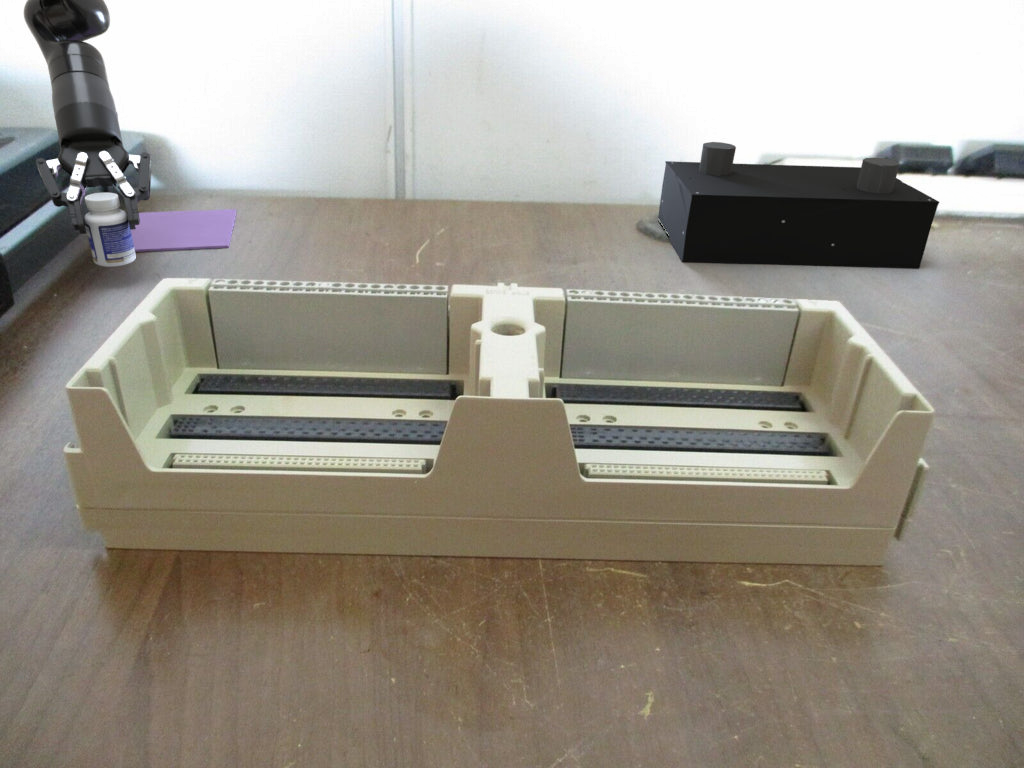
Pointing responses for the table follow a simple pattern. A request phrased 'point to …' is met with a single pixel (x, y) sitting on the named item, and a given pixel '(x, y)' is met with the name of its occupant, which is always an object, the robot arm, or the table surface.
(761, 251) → the control box
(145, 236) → the cloth
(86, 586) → the table surface
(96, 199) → the pill bottle
